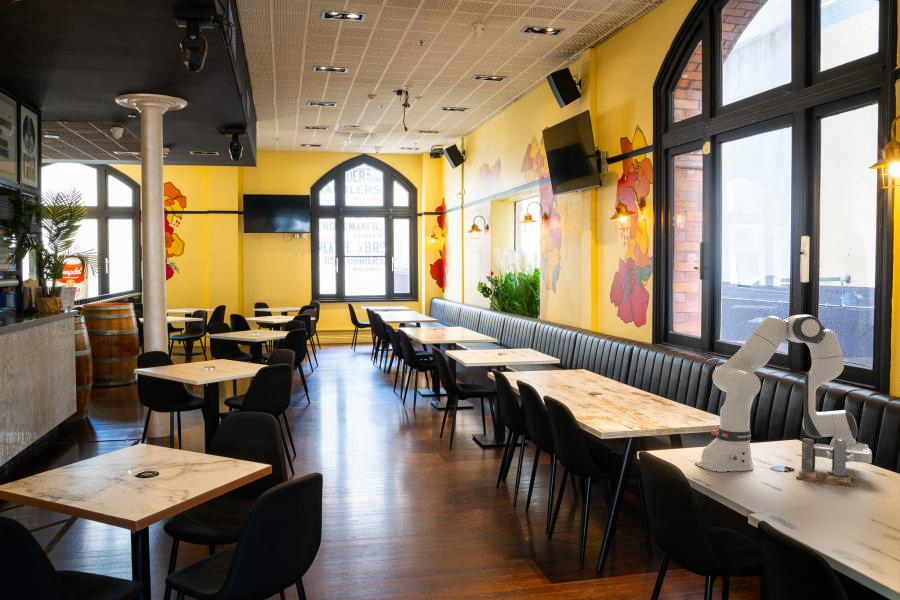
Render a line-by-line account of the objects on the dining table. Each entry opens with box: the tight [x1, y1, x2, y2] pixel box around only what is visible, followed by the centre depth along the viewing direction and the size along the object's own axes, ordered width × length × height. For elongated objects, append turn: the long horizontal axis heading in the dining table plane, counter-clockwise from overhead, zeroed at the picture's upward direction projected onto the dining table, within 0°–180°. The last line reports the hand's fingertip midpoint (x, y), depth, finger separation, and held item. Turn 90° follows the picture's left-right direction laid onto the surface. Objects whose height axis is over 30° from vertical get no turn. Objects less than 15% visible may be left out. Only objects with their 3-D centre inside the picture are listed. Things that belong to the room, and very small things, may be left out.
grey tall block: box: [831, 439, 847, 478], centre depth 258 cm, size 4×3×14 cm
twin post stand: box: [795, 438, 856, 488], centre depth 260 cm, size 18×9×14 cm, turn 57°
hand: (838, 458), depth 257 cm, fingers closed on grey tall block, 4 cm apart
